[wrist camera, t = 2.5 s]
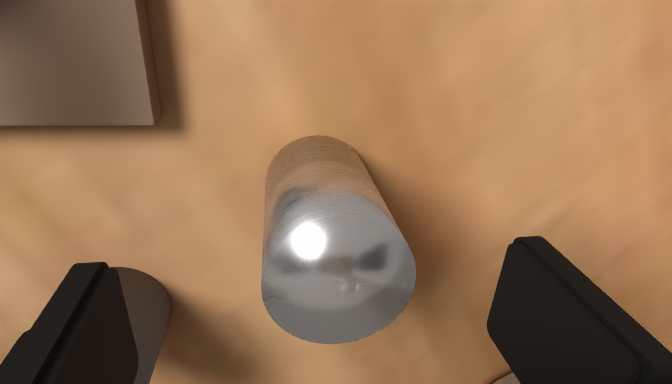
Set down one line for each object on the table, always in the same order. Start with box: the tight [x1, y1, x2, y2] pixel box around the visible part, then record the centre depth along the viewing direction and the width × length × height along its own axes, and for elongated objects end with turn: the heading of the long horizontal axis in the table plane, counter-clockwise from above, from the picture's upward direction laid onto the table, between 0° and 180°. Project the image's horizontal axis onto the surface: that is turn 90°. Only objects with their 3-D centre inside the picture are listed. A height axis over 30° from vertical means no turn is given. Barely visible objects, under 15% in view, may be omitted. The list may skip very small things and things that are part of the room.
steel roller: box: [261, 136, 416, 344], centre depth 15 cm, size 4×4×7 cm
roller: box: [109, 267, 172, 384], centre depth 16 cm, size 4×4×7 cm
